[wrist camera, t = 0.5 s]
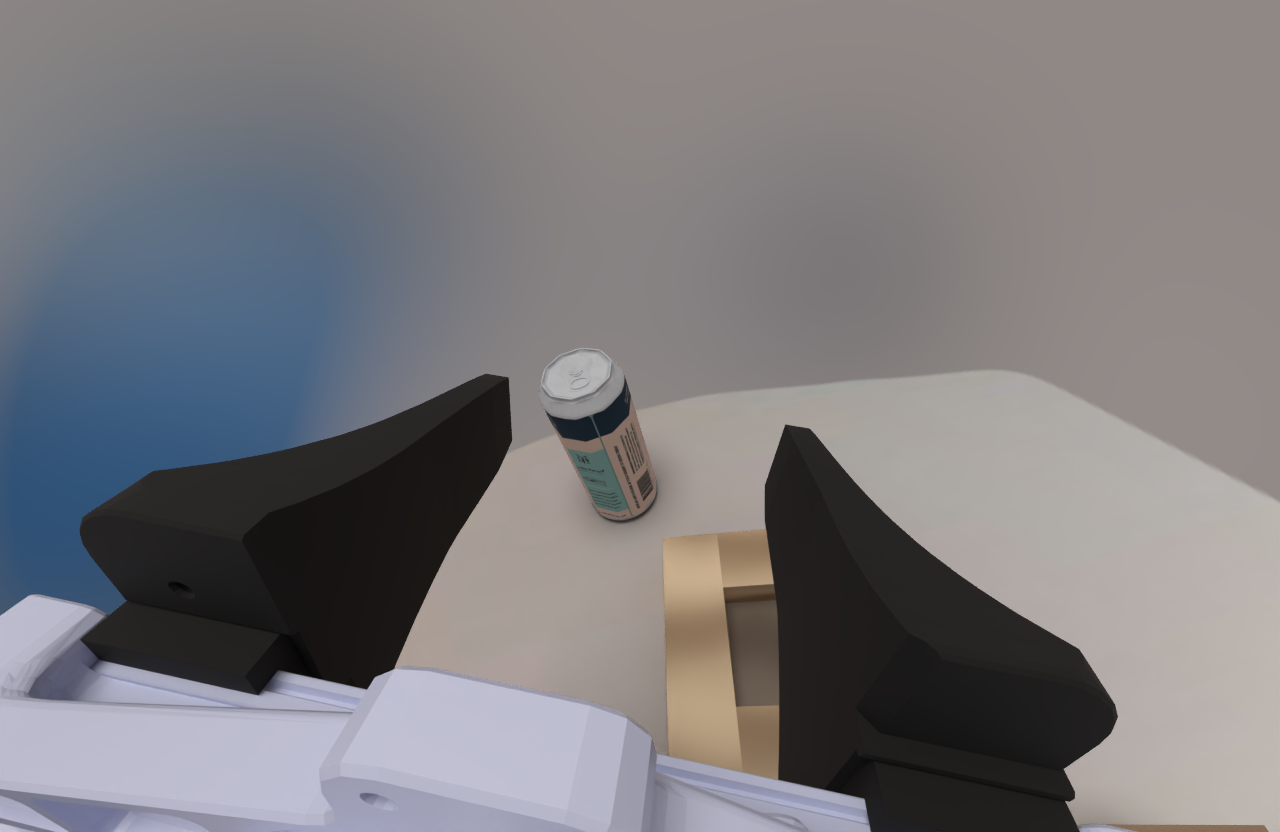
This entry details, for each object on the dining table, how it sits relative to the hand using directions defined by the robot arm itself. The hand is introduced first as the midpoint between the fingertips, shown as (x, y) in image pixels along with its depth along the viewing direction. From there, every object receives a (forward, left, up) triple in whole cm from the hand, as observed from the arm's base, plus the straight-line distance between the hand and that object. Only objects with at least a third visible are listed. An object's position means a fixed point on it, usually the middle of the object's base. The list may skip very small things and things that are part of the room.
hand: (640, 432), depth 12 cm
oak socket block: (0, -4, -19) cm, 19 cm away
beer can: (+11, +5, -19) cm, 22 cm away
